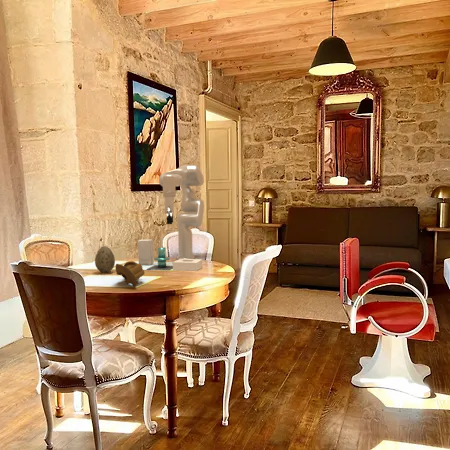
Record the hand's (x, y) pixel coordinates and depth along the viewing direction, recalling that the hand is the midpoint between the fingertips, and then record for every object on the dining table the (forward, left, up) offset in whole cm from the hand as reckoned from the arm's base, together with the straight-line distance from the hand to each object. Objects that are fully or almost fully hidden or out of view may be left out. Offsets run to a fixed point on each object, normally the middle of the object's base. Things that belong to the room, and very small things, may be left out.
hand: (170, 223), depth 263 cm
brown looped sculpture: (+54, -3, -27) cm, 61 cm away
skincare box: (-4, -17, -27) cm, 32 cm away
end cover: (+9, -3, -26) cm, 27 cm away
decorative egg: (+28, -29, -27) cm, 49 cm away
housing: (+9, +14, -26) cm, 31 cm away
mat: (+9, -2, -26) cm, 28 cm away
